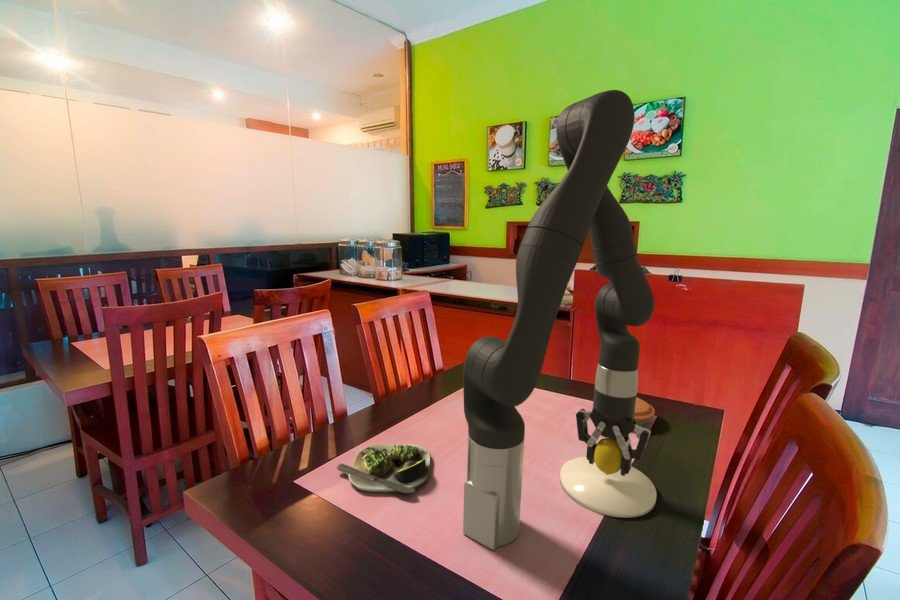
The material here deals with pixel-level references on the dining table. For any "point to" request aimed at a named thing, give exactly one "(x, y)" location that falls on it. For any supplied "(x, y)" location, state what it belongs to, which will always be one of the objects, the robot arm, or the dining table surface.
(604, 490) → the saucer
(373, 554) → the dining table surface
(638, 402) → the pie
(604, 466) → the lemon
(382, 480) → the salad plate
